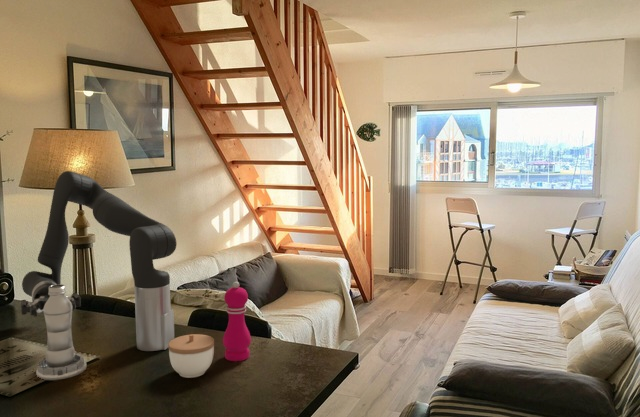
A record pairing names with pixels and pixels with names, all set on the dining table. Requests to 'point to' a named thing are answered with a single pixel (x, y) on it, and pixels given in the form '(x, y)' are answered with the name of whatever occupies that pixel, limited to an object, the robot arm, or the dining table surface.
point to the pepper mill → (236, 325)
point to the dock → (61, 369)
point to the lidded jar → (191, 354)
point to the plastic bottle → (58, 328)
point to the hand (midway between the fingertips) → (54, 310)
